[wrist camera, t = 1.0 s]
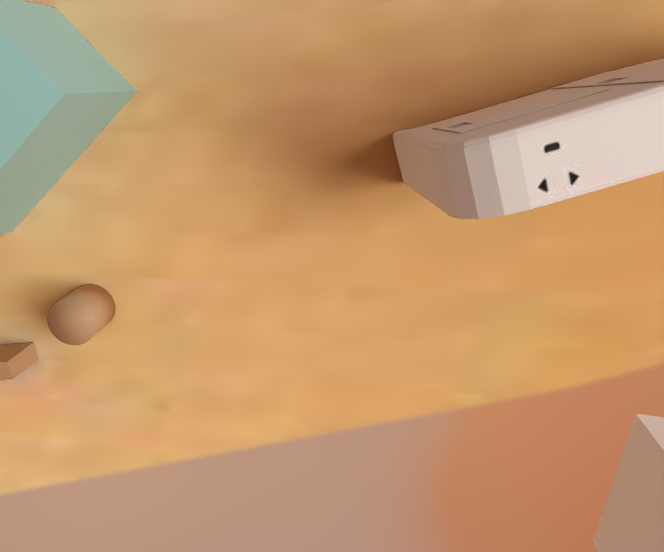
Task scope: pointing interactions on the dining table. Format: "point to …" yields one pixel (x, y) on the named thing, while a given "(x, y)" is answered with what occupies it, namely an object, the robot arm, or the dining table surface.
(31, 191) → the pale green block
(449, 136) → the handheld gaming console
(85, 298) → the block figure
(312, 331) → the dining table surface
